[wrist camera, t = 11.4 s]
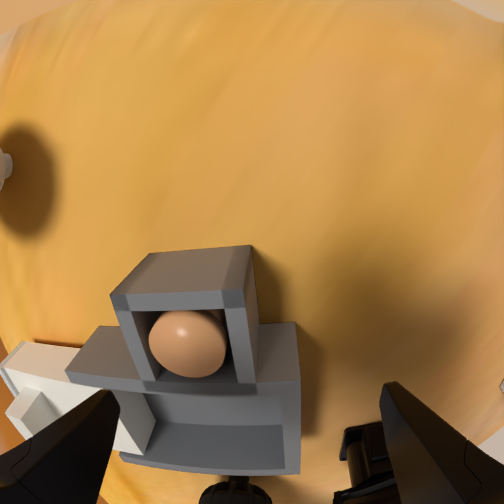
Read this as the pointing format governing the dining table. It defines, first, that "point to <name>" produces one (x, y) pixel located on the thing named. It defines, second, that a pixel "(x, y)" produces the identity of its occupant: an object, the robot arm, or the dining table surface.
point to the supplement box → (502, 386)
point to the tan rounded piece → (190, 341)
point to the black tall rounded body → (235, 492)
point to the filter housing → (209, 387)
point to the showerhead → (5, 167)
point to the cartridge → (65, 395)
